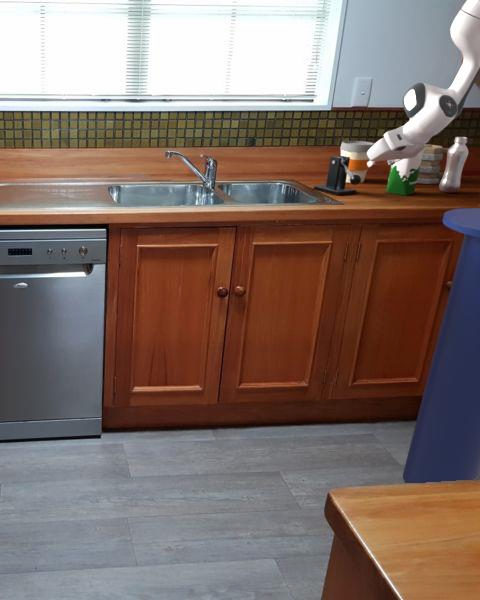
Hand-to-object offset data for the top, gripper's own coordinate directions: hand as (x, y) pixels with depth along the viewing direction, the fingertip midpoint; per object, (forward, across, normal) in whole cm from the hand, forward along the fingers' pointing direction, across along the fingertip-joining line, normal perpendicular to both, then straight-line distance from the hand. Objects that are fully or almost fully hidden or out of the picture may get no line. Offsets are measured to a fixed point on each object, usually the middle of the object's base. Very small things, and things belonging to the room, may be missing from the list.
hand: (379, 164), depth 207 cm
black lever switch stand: (+21, 0, -4) cm, 22 cm away
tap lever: (+14, 0, -6) cm, 15 cm away
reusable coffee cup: (+31, -22, -13) cm, 40 cm away
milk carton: (+14, -21, +4) cm, 25 cm away
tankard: (+21, -50, -3) cm, 55 cm away
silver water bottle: (+10, -39, +9) cm, 41 cm away
